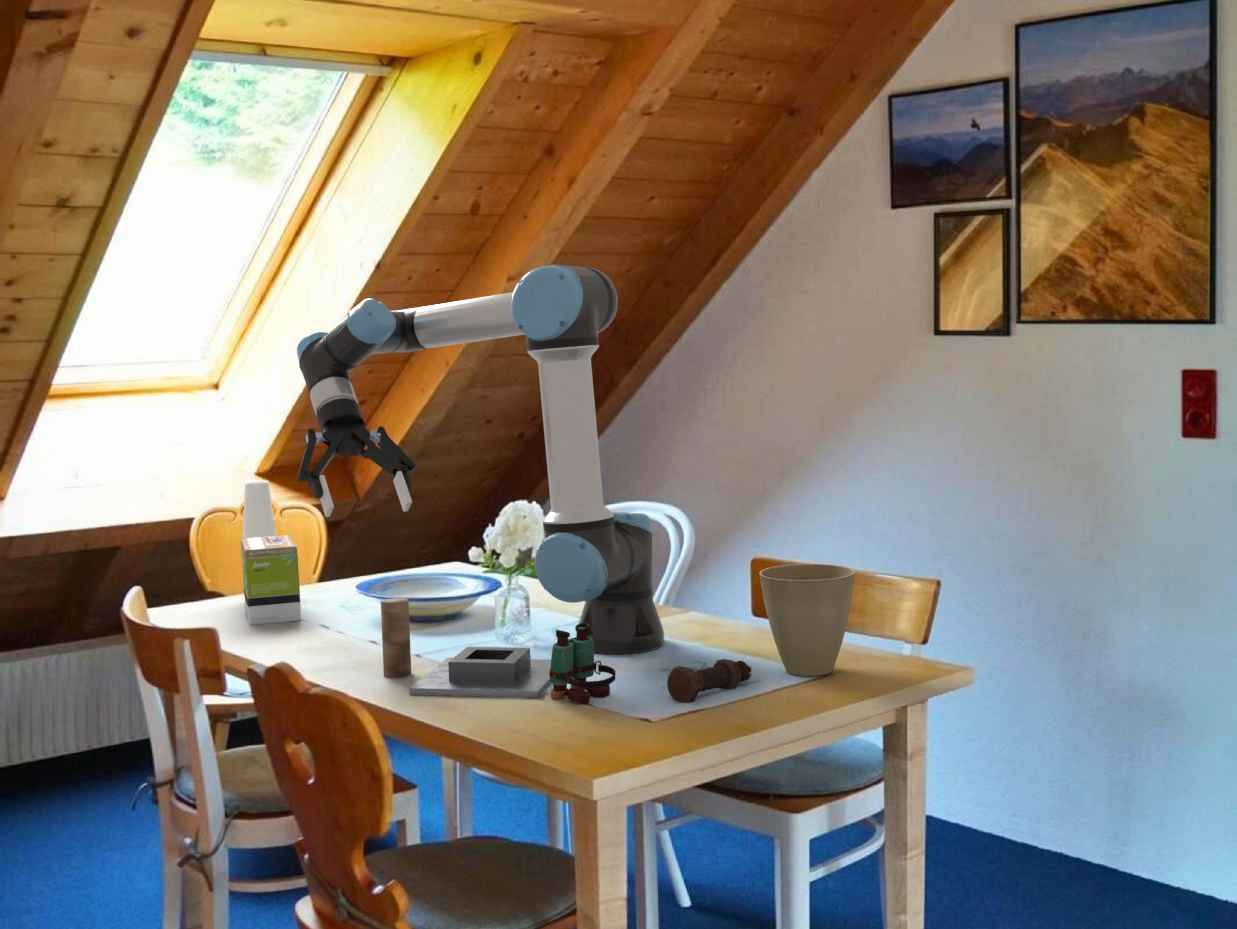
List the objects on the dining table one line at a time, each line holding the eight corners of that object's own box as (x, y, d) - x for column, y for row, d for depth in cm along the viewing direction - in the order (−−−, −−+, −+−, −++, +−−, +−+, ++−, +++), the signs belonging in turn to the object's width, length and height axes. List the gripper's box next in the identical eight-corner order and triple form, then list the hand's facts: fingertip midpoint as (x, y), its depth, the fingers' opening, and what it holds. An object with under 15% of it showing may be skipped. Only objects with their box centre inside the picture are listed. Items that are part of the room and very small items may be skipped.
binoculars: (592, 643, 212) (540, 628, 218) (588, 714, 214) (537, 697, 220) (631, 632, 219) (580, 618, 225) (627, 700, 221) (577, 684, 227)
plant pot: (826, 656, 243) (825, 560, 241) (873, 676, 229) (873, 574, 227) (744, 665, 237) (743, 568, 236) (787, 687, 223) (786, 583, 222)
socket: (566, 665, 240) (565, 641, 240) (537, 697, 221) (537, 671, 220) (448, 663, 244) (447, 639, 243) (409, 694, 224) (408, 668, 224)
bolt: (748, 695, 227) (683, 712, 216) (727, 674, 230) (661, 690, 219) (763, 665, 224) (698, 681, 214) (741, 645, 227) (676, 659, 217)
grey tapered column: (283, 597, 304) (277, 482, 302) (251, 601, 301) (245, 484, 299) (273, 592, 310) (268, 479, 308) (241, 596, 307) (236, 481, 304)
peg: (415, 671, 239) (412, 598, 237) (406, 678, 234) (403, 603, 233) (388, 670, 239) (386, 598, 238) (379, 677, 235) (376, 603, 234)
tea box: (243, 611, 292) (239, 537, 290) (295, 606, 295) (291, 533, 293) (248, 626, 278) (244, 548, 276) (302, 621, 281) (298, 544, 279)
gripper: (399, 421, 263) (432, 517, 252) (261, 426, 250) (290, 527, 239) (410, 394, 258) (445, 491, 247) (271, 397, 245) (301, 500, 234)
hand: (369, 509), depth 243 cm, fingers open, 13 cm apart
